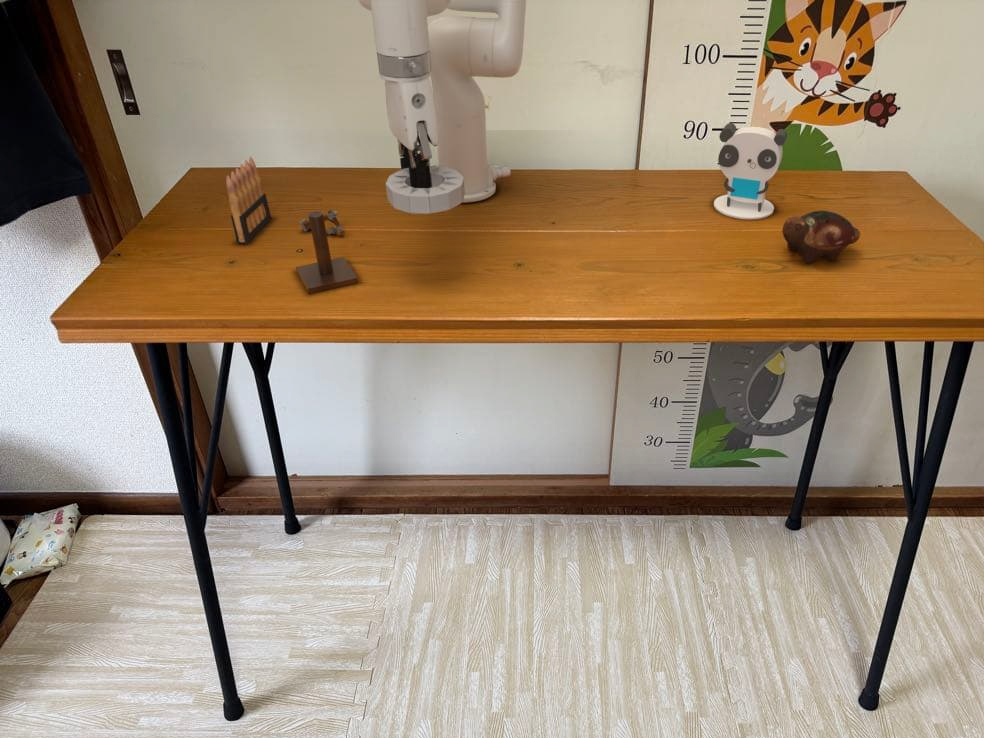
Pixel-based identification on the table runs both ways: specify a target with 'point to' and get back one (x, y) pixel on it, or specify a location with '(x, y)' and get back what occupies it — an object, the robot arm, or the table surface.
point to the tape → (426, 191)
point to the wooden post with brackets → (331, 214)
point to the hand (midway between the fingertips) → (416, 184)
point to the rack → (324, 262)
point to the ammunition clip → (247, 202)
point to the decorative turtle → (819, 235)
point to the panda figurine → (748, 170)
